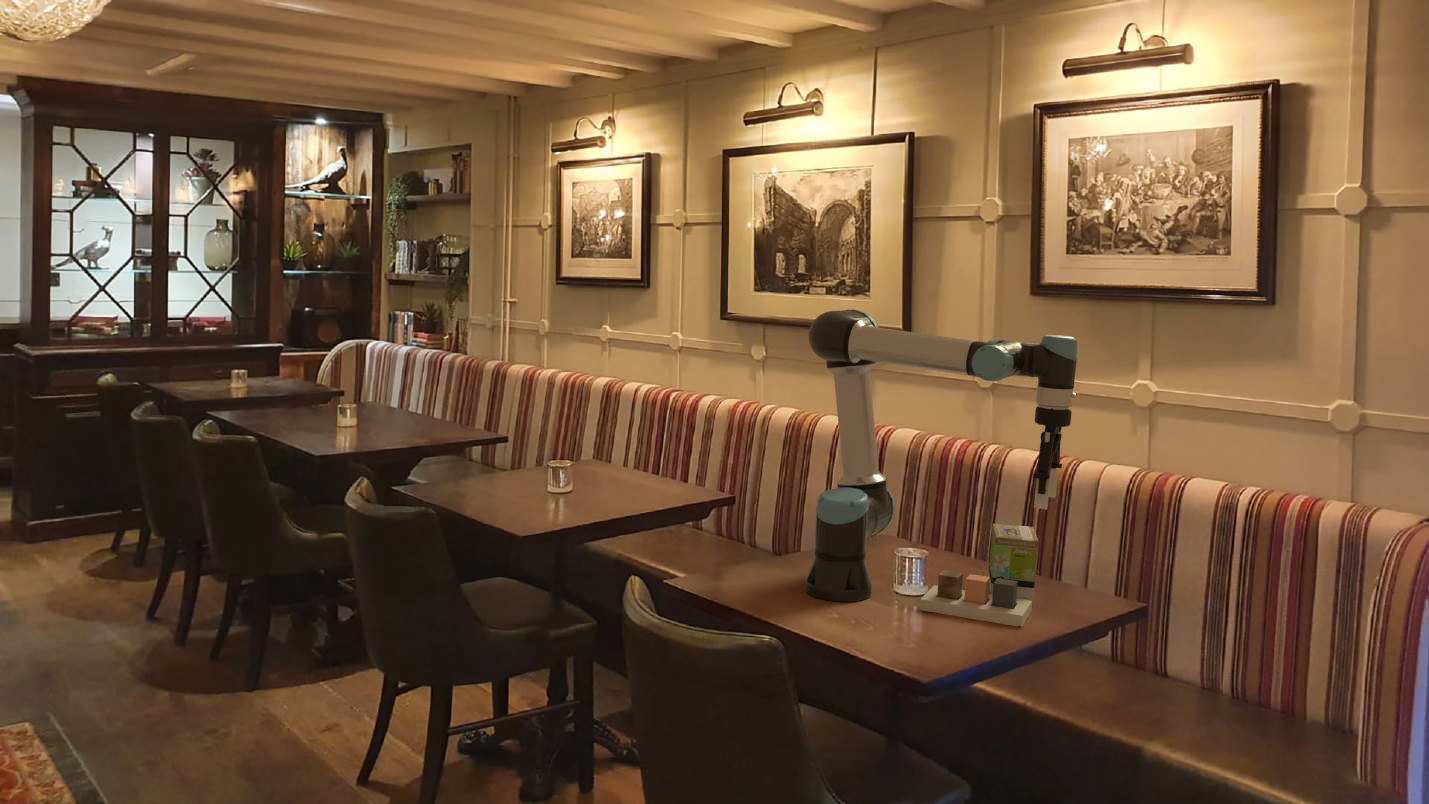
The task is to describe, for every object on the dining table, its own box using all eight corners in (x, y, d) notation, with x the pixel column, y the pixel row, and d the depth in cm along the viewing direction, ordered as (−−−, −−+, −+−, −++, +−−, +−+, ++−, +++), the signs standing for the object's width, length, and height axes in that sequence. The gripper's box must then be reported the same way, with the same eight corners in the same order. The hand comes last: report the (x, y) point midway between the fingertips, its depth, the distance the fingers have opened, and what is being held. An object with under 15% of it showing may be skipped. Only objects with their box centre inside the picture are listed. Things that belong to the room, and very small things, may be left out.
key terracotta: (964, 600, 244) (965, 578, 243) (968, 595, 248) (970, 574, 247) (984, 604, 242) (985, 582, 241) (988, 598, 246) (990, 577, 245)
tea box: (1034, 603, 252) (1039, 540, 250) (989, 599, 254) (993, 536, 252) (1029, 585, 267) (1034, 525, 265) (987, 581, 269) (991, 521, 267)
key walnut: (937, 596, 246) (938, 574, 245) (942, 591, 250) (943, 570, 249) (957, 599, 244) (958, 577, 244) (961, 594, 248) (963, 573, 248)
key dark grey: (991, 605, 241) (993, 583, 240) (995, 600, 245) (997, 578, 244) (1012, 608, 239) (1014, 586, 239) (1016, 603, 243) (1017, 581, 242)
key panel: (919, 610, 244) (920, 599, 244) (933, 595, 255) (934, 585, 255) (1021, 627, 235) (1022, 615, 235) (1031, 611, 246) (1032, 600, 245)
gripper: (1064, 415, 227) (1055, 516, 230) (1078, 402, 250) (1069, 494, 253) (1027, 411, 230) (1018, 511, 233) (1044, 399, 253) (1035, 490, 256)
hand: (1045, 502), depth 243 cm, fingers open, 13 cm apart
